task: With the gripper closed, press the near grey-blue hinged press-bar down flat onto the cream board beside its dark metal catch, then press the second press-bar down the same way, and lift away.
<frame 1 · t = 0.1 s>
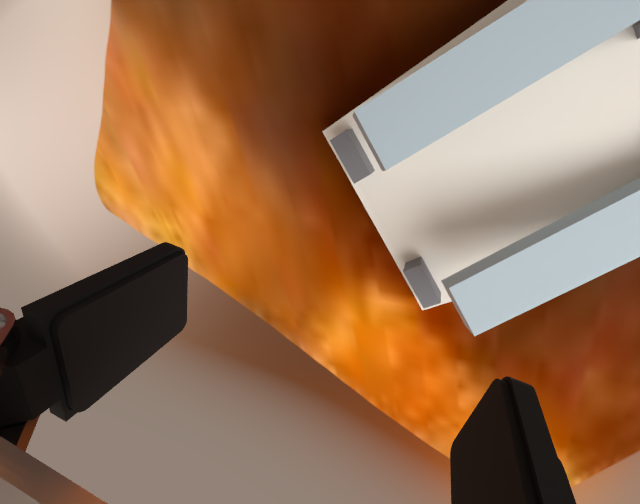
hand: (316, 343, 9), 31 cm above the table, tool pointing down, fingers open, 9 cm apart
lever b: (581, 245, 26), point 8 cm above the table, hinge at 20.0°
lever a: (500, 61, 23), point 8 cm above the table, hinge at 20.0°
board: (499, 159, 33), on the table
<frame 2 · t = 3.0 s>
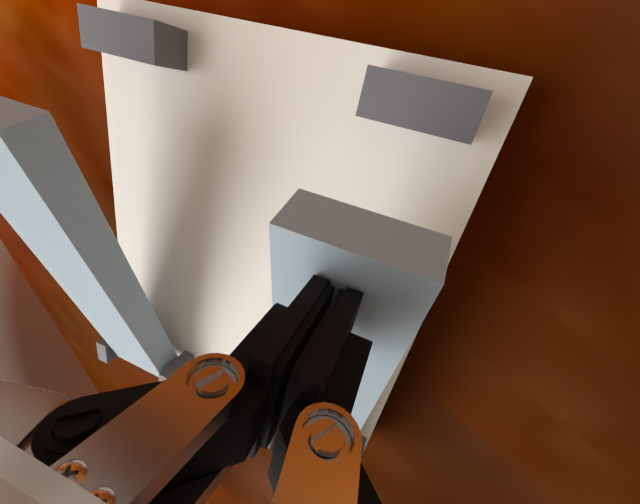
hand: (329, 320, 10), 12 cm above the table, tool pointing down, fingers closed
lever b: (96, 280, 21), point 8 cm above the table, hinge at 20.0°
lever a: (325, 383, 17), point 8 cm above the table, hinge at 19.6°, touching gripper
board: (269, 249, 25), on the table
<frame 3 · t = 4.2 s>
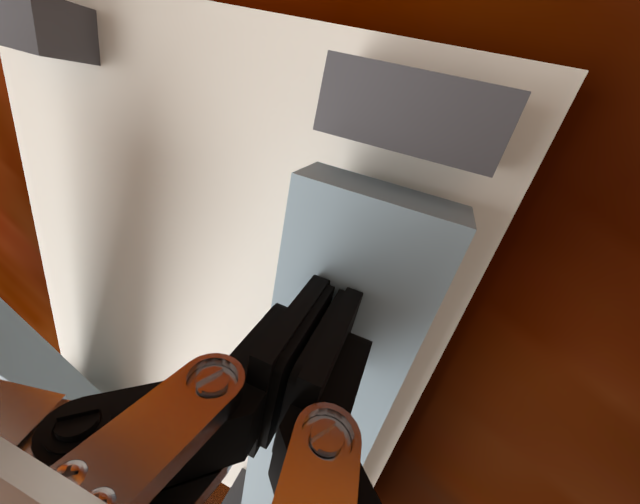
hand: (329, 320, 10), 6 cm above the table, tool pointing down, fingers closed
lever a: (314, 420, 14), point 5 cm above the table, hinge at 2.9°, touching gripper
board: (228, 289, 20), on the table
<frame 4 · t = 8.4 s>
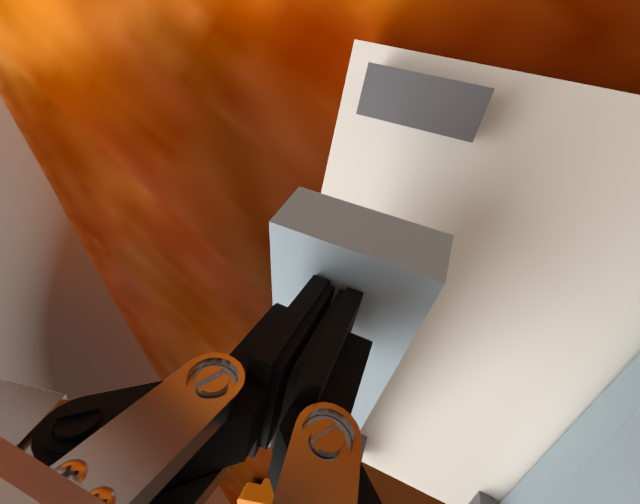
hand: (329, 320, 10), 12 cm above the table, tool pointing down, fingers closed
lever b: (326, 382, 17), point 8 cm above the table, hinge at 19.6°, touching gripper
board: (481, 326, 21), on the table
bracket: (295, 501, 37), on the table
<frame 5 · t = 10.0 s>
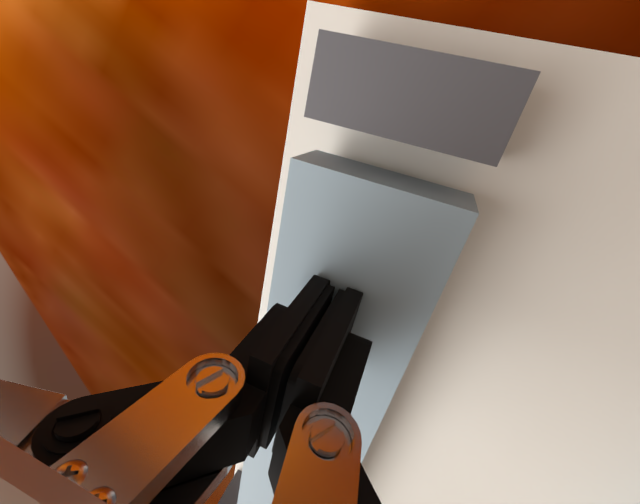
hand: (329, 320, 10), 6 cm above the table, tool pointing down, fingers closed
lever b: (312, 417, 14), point 5 cm above the table, hinge at 1.4°, touching gripper
board: (495, 400, 16), on the table
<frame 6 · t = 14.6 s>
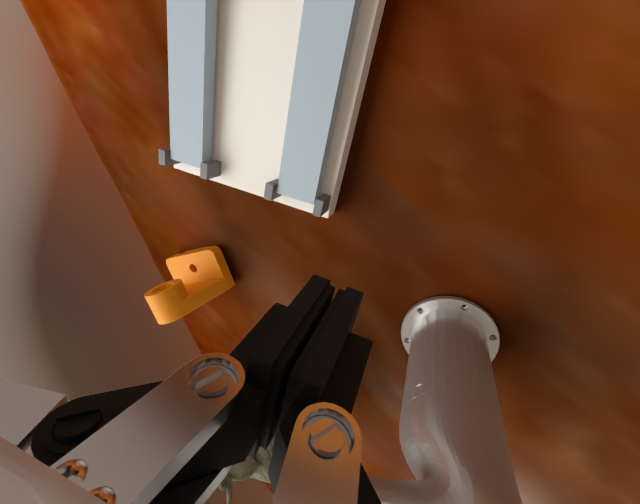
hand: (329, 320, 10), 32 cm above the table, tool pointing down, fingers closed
lever b: (191, 71, 38), point 5 cm above the table, hinge at 1.2°
tabletop clock: (298, 361, 57), on the table
lever a: (314, 101, 35), point 5 cm above the table, hinge at 1.1°
board: (270, 79, 40), on the table
bracket: (206, 267, 56), on the table
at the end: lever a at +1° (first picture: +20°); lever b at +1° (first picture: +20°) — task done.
